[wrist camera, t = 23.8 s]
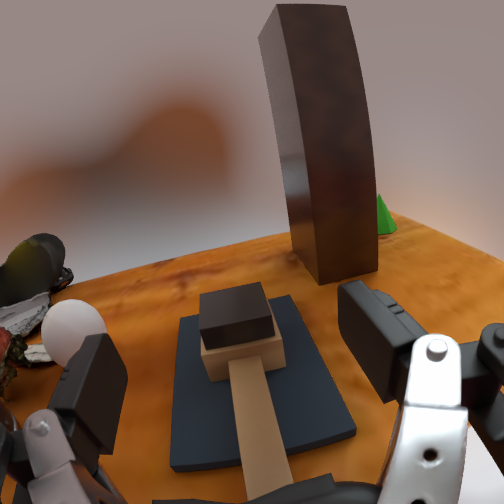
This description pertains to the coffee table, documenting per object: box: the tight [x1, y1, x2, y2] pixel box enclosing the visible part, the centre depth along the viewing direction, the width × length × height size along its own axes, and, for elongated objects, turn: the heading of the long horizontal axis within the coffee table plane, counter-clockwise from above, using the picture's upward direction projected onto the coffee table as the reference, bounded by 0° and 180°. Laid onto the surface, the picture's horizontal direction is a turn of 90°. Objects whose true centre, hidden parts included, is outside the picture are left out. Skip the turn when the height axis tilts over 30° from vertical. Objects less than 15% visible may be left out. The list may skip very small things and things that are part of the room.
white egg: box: [41, 299, 107, 368], centre depth 27 cm, size 10×7×7 cm
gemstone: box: [377, 195, 397, 234], centre depth 47 cm, size 6×6×6 cm
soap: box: [24, 343, 52, 363], centre depth 28 cm, size 10×4×1 cm, turn 94°
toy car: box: [49, 267, 74, 292], centre depth 49 cm, size 6×12×4 cm, turn 59°
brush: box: [199, 282, 294, 501], centre depth 18 cm, size 6×18×5 cm, turn 8°
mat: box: [170, 295, 357, 472], centre depth 24 cm, size 12×18×1 cm, turn 8°
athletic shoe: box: [0, 233, 65, 308], centre depth 40 cm, size 12×25×12 cm
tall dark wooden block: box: [258, 4, 378, 285], centre depth 35 cm, size 8×12×32 cm, turn 8°
